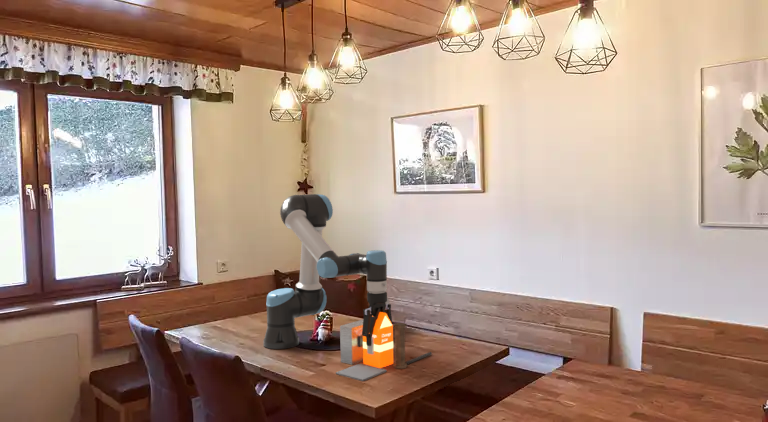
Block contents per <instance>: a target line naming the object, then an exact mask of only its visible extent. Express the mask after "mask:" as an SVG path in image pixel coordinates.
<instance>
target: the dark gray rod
mask: <svg viewBox="0 0 768 422" xmlns="http://www.w3.org/2000/svg"><path fill="white" fill-rule="evenodd" d="M432 355H433V354H432V352H431V351H429V352H427V353H424V354H421V355H418V356H417V357H414V358H411V359H409V360H407V361H406V360H405V363H406V364H407V366H408V365H410V364H413V363H415V362H417V361H420V360H423V359H425V358H427V357H429V356H432Z"/></svg>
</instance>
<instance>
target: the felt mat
mask: <svg viewBox="0 0 768 422" xmlns="http://www.w3.org/2000/svg"><path fill="white" fill-rule="evenodd" d="M385 373H387V369H385V368H377V367H373V366H370V365H366V364H363V363H356V364H353V365H351V366H349V367H347V368H344V369H341V370H339V371H336V372H335V374H336V375H338V376H342V377H346V378H349V379H353V380H355V381H356V380H357V381H360V382H365V381H368V380H370V379H372V378H374V377H376V376H379V375H382V374H385Z"/></svg>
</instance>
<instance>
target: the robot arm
mask: <svg viewBox="0 0 768 422" xmlns="http://www.w3.org/2000/svg"><path fill="white" fill-rule="evenodd" d="M279 210H280V211H279V214H280V218H281V221H282V223H283V224H284V226H286V228H287V229H290V230H292V232H293V233H294V234H295V236H296V237H297V238H298V240H300V242H301V249H300V250H301V251H300V265H299V266H300V267H299V281H298V282H297V283H296V284H295V289H294V288H291V287H290V288H289V287H284V288H278V289H274V290H272V291H270V292H268V294H266V305H265V306H266V330H265V334H264V339H263V340H262V341H263V347H264V348H266V349H270V350H272V349H273V350H283V349H284V350H285V349H290V348H294V347H297V346H298V345H299V344H300V337H299V334H298V331H297V329H296V325H295V322H296V321H295V319H296V318H301V317H308V316H314V315H317V314H320V313H322V311H324V310H325V308H326V305H327V302H328V301H327V294H326V291H325V289H324V288H323V285H322V284H321V283H320V277H321V278H323V279H330V278H337V277H345V276H352V275H359V274H360V275H366V291H367V294H366V295H367V296H366V299H367V302H368V308H365V309H363V319H362V320H363V329H362V336H366V344H367V354H372V355H373V354H374V337H372V335H373V331H374V326H375V323H376V320H377V319H378V315H379V313H380V312H383V313H386V314H387V316H388V318H389V320H390V321H391V323H392V325H393V324H394V323H393V317H392V310H391V309H392V305H391V303H390V304H386V303H385V302H387V298H388V292H387V291H388V288H387V287H388V283H387V279H388V274H387V273H388V272H387V270H388V269H387V267H388V266H387V262H388V261H387V253H386V251H384V250H379V249H375V250H368V251H366V254H363V253H358V252H356V253H351V254H348V255H341V256H338V255H337V253H336V252H335V251H334V250H333V249H332V247H331V246H330V245H329V244H328V243H327V241H326V240H325V239H324V238H323V230H324V229H325V228H326V227H327V222H329V221H330V220H331V218H332V217H333V210H334V209H333V205H332V202H331V201H330V198H329V197H328V196H327V195H325V194H318V193H312V194H311V193H310V194H292V195H290V196H288V197H287V198H286V199H284V200H283V202H282V203H281V206H280V209H279ZM372 316H373V317H372ZM369 333H370V334H369Z"/></svg>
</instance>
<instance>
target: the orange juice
mask: <svg viewBox="0 0 768 422" xmlns="http://www.w3.org/2000/svg"><path fill="white" fill-rule="evenodd" d="M372 317H373V316H372ZM392 324H393V322H392V323H391V321H390V320H389V318H388V316H387V314H386V313H383V312H380V313H379V315H378V319H377V320H376V323H375V326H374V331H373V335H372V337H374V354H373V355H372V354H367V344H366V336H363V361H362V362H363V363H362V364H364V365H368V366H372V367H376V368H381V369H383V368H384V367H387V366H390V365H394V327H393V325H392ZM369 334H370V333H369Z"/></svg>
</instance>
